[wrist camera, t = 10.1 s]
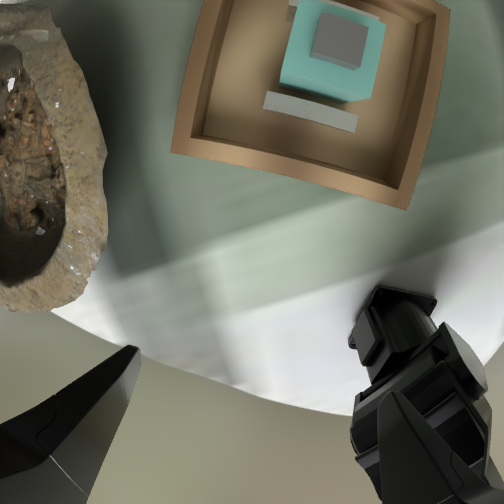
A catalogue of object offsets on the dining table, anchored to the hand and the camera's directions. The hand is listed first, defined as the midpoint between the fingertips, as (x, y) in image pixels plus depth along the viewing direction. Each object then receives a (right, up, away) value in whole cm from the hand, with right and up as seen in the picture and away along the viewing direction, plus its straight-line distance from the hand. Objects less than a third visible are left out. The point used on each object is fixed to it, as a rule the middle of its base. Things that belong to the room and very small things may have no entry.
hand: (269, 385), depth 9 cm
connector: (+3, +16, +6) cm, 17 cm away
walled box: (+3, +16, +7) cm, 18 cm away
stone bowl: (-20, +13, +10) cm, 26 cm away
